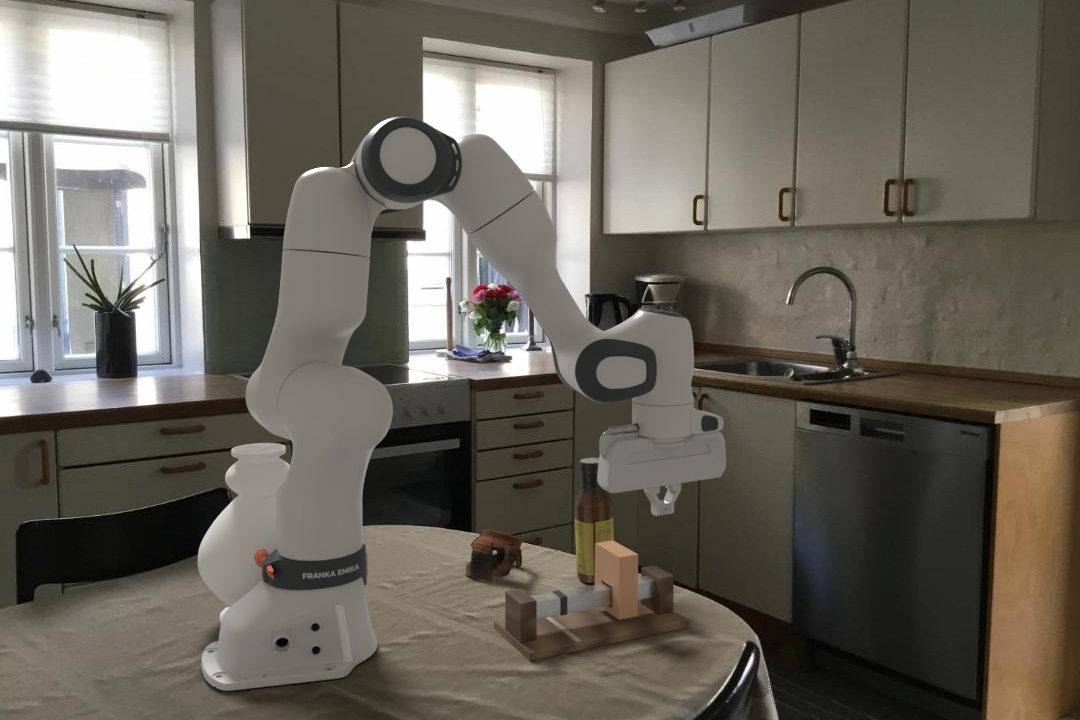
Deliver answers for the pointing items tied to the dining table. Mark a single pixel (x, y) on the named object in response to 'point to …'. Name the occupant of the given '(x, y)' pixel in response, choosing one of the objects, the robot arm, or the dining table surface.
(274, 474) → the decorative vase
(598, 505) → the sauce bottle
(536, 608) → the rod stand
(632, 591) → the collar
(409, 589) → the dining table surface
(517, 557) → the broken clay pot
